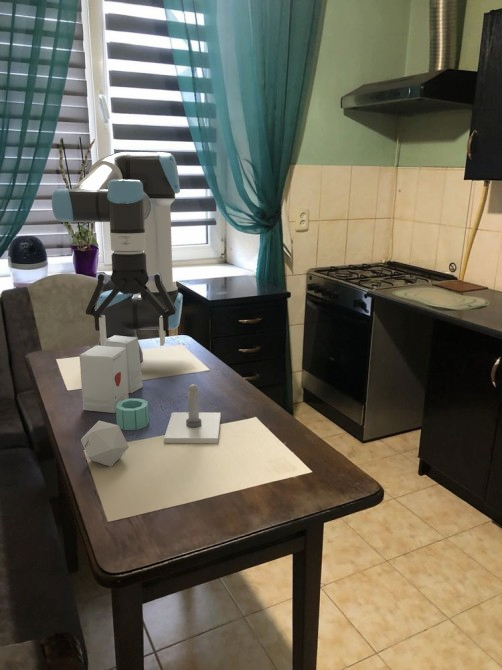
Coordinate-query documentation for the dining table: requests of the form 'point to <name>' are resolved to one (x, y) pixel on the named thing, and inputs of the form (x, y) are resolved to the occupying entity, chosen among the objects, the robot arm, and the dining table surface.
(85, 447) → the die
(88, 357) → the supplement box
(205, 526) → the dining table surface
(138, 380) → the skincare box
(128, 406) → the teal ring
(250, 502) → the dining table surface
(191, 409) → the post stand
